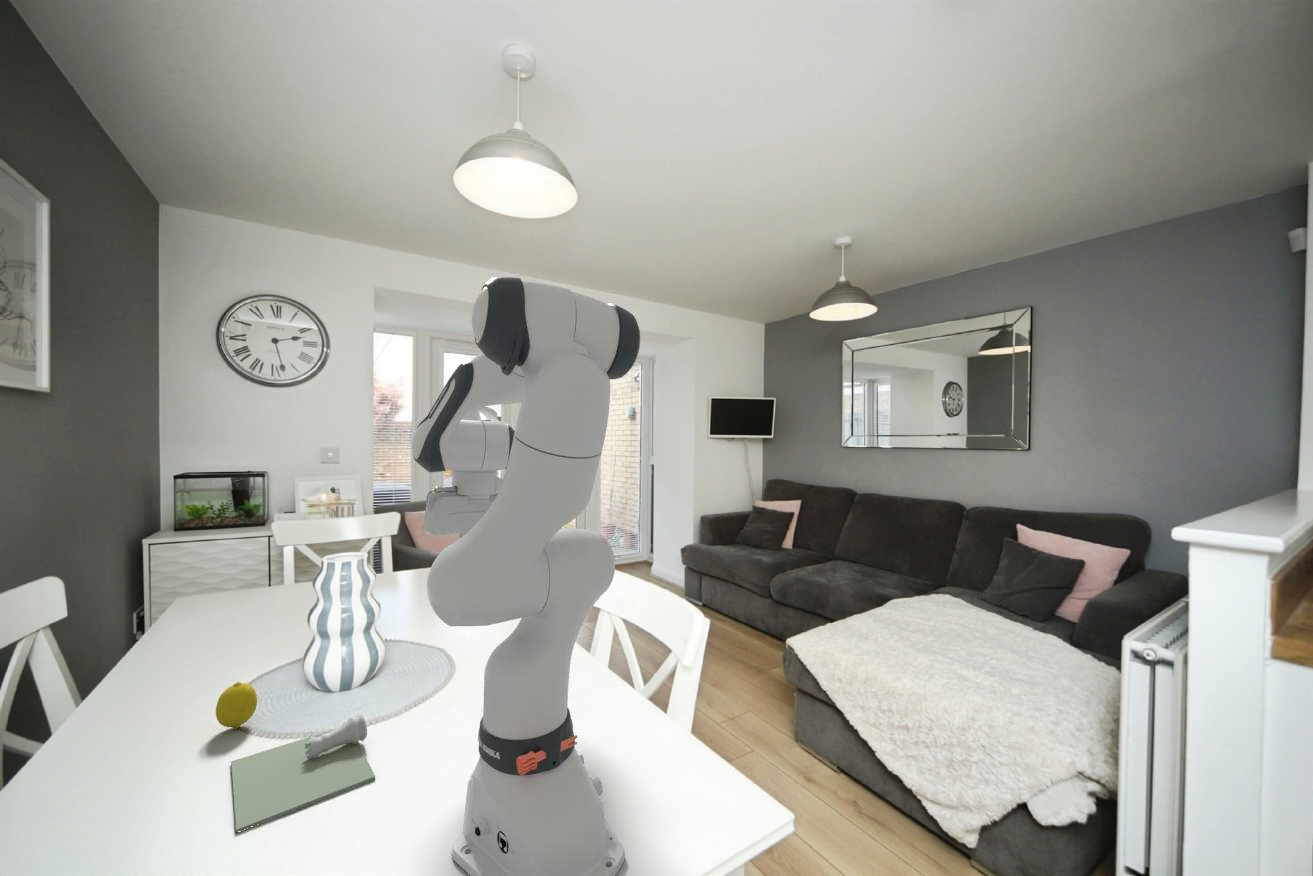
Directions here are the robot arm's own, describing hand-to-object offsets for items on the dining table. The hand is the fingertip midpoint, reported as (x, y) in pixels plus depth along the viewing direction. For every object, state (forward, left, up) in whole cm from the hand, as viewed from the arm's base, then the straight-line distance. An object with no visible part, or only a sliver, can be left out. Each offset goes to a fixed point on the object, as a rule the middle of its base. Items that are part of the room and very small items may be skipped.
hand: (472, 553), depth 102 cm
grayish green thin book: (-9, +29, -28) cm, 41 cm away
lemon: (+12, +36, -28) cm, 47 cm away
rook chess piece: (-6, +20, -25) cm, 33 cm away
